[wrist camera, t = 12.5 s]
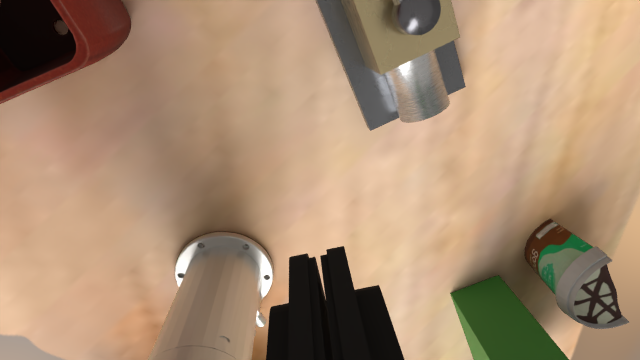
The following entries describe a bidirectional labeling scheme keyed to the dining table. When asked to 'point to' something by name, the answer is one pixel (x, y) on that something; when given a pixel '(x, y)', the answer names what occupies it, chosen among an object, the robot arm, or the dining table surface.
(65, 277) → the dining table surface
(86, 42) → the plant pot
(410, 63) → the valve body
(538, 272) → the food container
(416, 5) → the valve lever
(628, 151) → the dining table surface
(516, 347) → the green cereal box
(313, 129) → the dining table surface
